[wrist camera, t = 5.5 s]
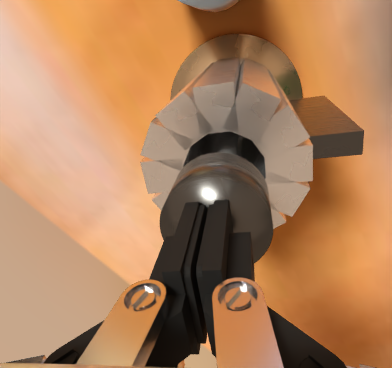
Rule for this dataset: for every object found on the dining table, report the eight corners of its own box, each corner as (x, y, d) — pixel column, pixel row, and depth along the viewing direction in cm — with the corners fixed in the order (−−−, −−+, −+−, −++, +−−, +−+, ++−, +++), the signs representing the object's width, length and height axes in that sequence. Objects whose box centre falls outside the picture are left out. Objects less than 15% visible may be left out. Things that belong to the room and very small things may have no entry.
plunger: (255, 85, 27) (269, 172, 11) (259, 133, 29) (276, 271, 13) (206, 92, 28) (149, 183, 12) (212, 138, 30) (171, 274, 14)
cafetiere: (313, 19, 28) (392, 10, 13) (313, 156, 33) (368, 261, 18) (160, 46, 30) (78, 64, 16) (183, 168, 36) (139, 267, 21)
